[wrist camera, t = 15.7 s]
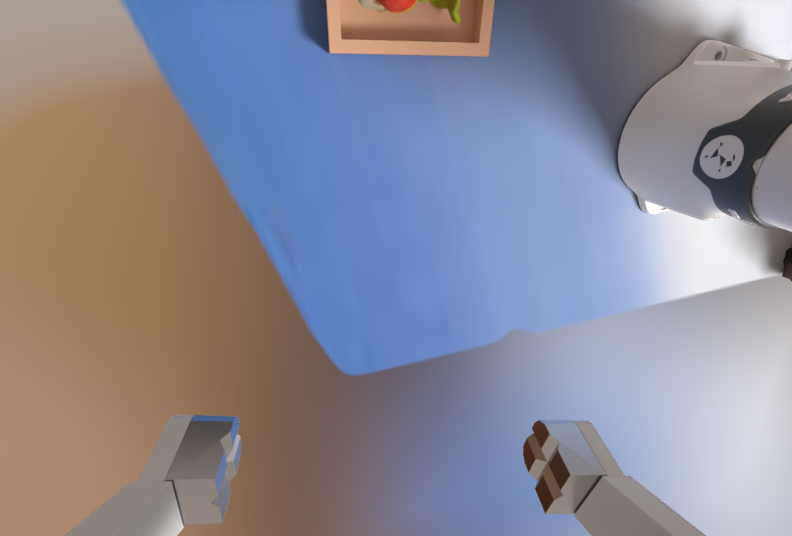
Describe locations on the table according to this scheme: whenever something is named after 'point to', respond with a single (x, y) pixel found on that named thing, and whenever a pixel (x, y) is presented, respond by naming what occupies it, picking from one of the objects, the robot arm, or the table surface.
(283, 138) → the table surface
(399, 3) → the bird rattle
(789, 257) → the brown owl figurine
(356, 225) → the table surface
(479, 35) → the terracotta tray
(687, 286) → the table surface
